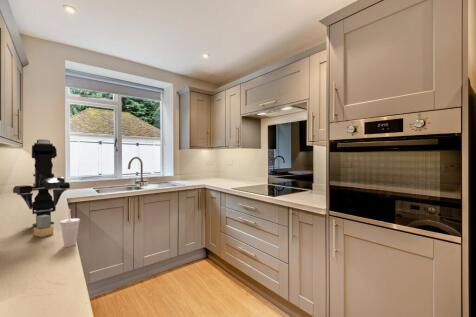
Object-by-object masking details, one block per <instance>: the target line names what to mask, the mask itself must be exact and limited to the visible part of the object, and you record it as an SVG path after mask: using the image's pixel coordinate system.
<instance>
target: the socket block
mask: <svg viewBox="0 0 476 317" xmlns="http://www.w3.org/2000/svg"><path fill="white" fill-rule="evenodd" d="M49 236H54V225H53V226H51V225H50V227H49V228H45V229H37V226H36V227H33V237H36V238H40V239H42V238H45V237H49Z"/></svg>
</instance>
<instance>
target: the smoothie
mask: <svg viewBox="0 0 476 317" xmlns="http://www.w3.org/2000/svg"><path fill="white" fill-rule="evenodd" d="M71 216H72V215H71V208H69V209H68V218H66V219H62V220H60V221H59V225H60V227H61V233H62V241H63V247H64V248H69V247H73V246H76V245H77V238H78V234H79V233H78V232H79V226H80V225H79V224H80V223H81V219H80V218H78V217H77V218H76V217H75V218H74V217H73V218H72V217H71Z"/></svg>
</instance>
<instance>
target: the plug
mask: <svg viewBox="0 0 476 317" xmlns="http://www.w3.org/2000/svg"><path fill="white" fill-rule="evenodd" d="M50 226H51V224H50V215H41V216H37V226H36V227H37V229H45V228H49V227H50Z"/></svg>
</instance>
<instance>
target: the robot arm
mask: <svg viewBox="0 0 476 317" xmlns="http://www.w3.org/2000/svg"><path fill="white" fill-rule="evenodd" d="M33 143H34V144H33V145H31V159H34V173H33V175H32V176H33V177H34V183H33V184H32V185H27V184H25V185H15V186H14V187H13V188H12V193H13V194H16V195H18V196H20V197H21V198H22V199H23V200H24V202H25V203H26V205H27V208H28V209H29V210H32V212H31V213H32V215H35V223H32V226H36V227H37V216H41V215H50V225H51V224H54V223H55V222H54V221H51V220H52V219H51V218H52V213H53V212H56V211H57V210H56V208H57V207H56V206H57V205H58V202H59V200H60V198H61V196H62V194H63V193H64V192H65V191H68V189H71V184H70V182H67V181H65V177H63V176H58V177H55V174H54V173H53V167H54V166H53V165H54V164H53V159H55V158H56V157H57V156H58V154H57V147H56V146H55V145H54V144H53V143H51V141H50V140H49V139H36V142H33ZM49 190H52V195H51V193H50V192H49ZM34 191H38V193H37V194H36V195H35V196H34V197H33V195H34V193H33V192H34ZM33 198H34V200H33Z"/></svg>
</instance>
